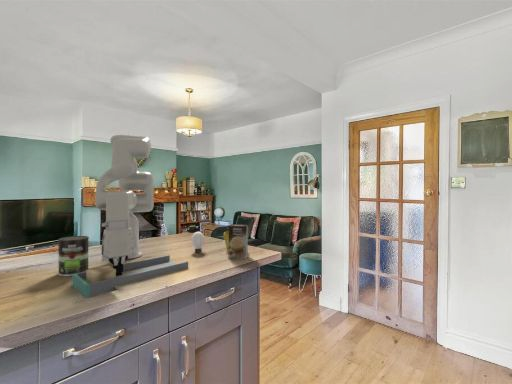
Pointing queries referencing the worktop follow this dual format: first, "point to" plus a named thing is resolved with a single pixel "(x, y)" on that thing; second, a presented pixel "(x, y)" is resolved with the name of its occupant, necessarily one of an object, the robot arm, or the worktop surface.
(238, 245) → the coffee box
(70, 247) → the coffee can
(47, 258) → the worktop surface
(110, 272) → the maple block
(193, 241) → the light bulb
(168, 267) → the box
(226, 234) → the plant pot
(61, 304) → the worktop surface
